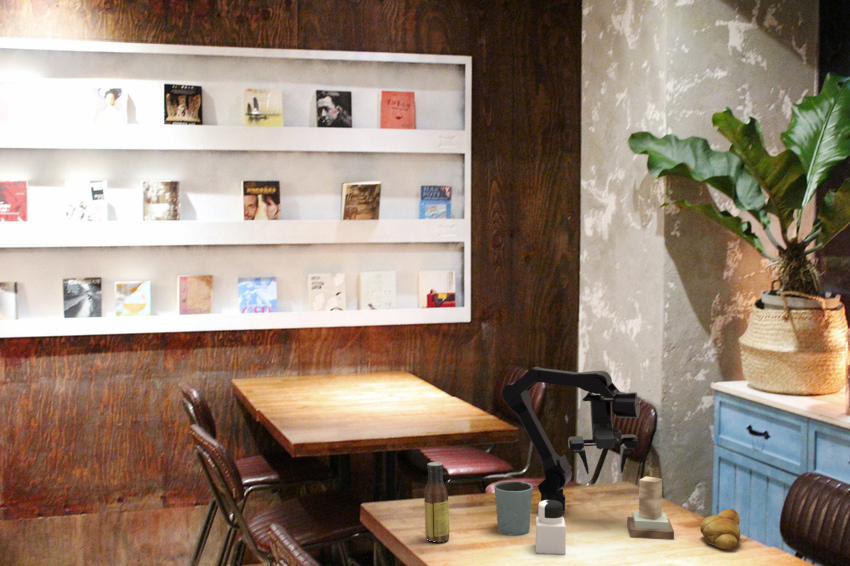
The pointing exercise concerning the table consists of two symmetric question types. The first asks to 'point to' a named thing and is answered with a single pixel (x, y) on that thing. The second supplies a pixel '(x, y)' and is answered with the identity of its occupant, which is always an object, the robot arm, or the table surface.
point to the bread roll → (722, 529)
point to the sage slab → (650, 522)
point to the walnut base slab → (649, 531)
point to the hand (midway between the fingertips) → (604, 473)
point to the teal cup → (513, 506)
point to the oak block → (650, 498)
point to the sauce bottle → (436, 505)
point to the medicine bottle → (550, 528)
